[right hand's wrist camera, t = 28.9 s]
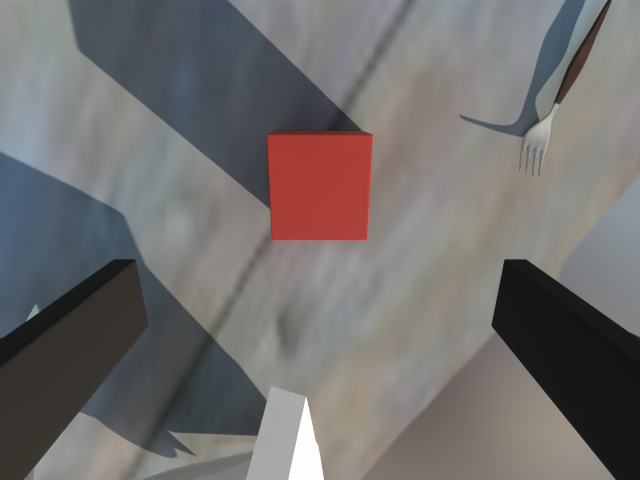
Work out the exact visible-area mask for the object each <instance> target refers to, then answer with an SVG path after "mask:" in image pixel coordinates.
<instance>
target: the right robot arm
mask: <svg viewBox="0 0 640 480" xmlns="http://www.w3.org/2000/svg"><path fill="white" fill-rule="evenodd" d="M148 326H149V325H148V320H147V315H146V310H145V305H144V300H143V295H142V290H141V285H140V280H139V275H138V270H137V265H136V260H135V259H114V260H112V261H111V262H110V263H108V264H107V265H105V266H104V267H103V268H101V269H100V270H98V271H97V272H95V273H94V274H93V275H91V276H90V277H88V278H87V279H86V280H84V281H83V282H81V283H80V284H79V285H77V286H76V287H74V288H73V289H71V290H70V291H69V292H67V293H66V294H64V295H63V296H62V297H60V298H59V299H57V300H56V301H54V302H53V303H52V304H50V305H49V306H47V307H46V308H45V309H43V310H42V311H40V312H39V313H38V314H36V315H35V316H33V317H32V318H30V319H29V320H28V321H26V322H25V323H23V324H22V325H21V326H19V327H18V328H16V329H15V330H13V331H12V332H11V333H9V334H8V335H6V336H5V337H3V338H1V339H0V480H24V479H25V478H26V477H27V476H28V474H29V473H30V472H31V471H32V469H33V468H34V467H35V466H36V464H37V463H38V462H39V461H40V459H41V458H42V457H43V456H44V454H45V453H46V452H47V451H48V450H49V448H50V447H51V446H52V445H53V443H54V442H55V441H56V440H57V438H58V437H59V436H60V435H61V433H62V432H63V431H64V430H65V429H66V427H67V426H68V425H69V424H70V422H71V421H72V420H73V419H74V417H75V416H76V415H77V414H78V412H79V411H80V410H81V409H82V407H83V406H84V405H85V404H86V403H87V401H88V400H89V399H90V398H91V396H92V395H93V394H94V393H95V391H96V390H97V389H98V388H99V386H100V385H101V384H102V383H103V382H104V380H105V379H106V378H107V377H108V375H109V374H110V373H111V372H112V370H113V369H114V368H115V367H116V365H117V364H118V363H119V362H120V360H121V359H122V358H123V357H124V356H125V354H126V353H127V352H128V351H129V349H130V348H131V347H132V346H133V344H134V343H135V342H136V341H137V339H138V338H139V337H140V336H141V334H142V333H143V332H144V331H145V330H146V328H147V327H148ZM491 326H492V327H493V328H494V330H495V331H496V332H497V333H498V334H499V336H500V337H501V338H502V339H503V341H504V342H505V343H506V344H507V346H508V347H509V348H510V349H511V351H512V352H513V353H514V354H515V356H516V357H517V358H518V359H519V360H520V362H521V363H522V364H523V365H524V367H525V368H526V369H527V370H528V372H529V373H530V374H531V375H532V377H533V378H534V379H535V380H536V381H537V383H538V384H539V385H540V386H541V388H542V389H543V390H544V391H545V393H546V394H547V395H548V396H549V398H550V399H551V400H552V401H553V403H554V404H555V405H556V406H557V407H558V409H559V410H560V411H561V412H562V414H563V415H564V416H565V417H566V419H567V420H568V421H569V422H570V424H571V425H572V426H573V427H574V429H575V430H576V431H577V432H578V433H579V435H580V436H581V437H582V438H583V440H584V441H585V442H586V443H587V445H588V446H589V447H590V448H591V450H592V451H593V452H594V453H595V454H596V456H597V457H598V458H599V459H600V461H601V462H602V463H603V464H604V466H605V467H606V468H607V469H608V471H609V472H610V473H611V474H612V476H613V477H614V478H615V479H616V480H640V337H638V336H636V335H634V334H632V333H630V332H628V331H627V330H625V329H624V328H622V327H621V326H619V325H618V324H617V323H615V322H614V321H612V320H611V319H610V318H608V317H607V316H605V315H604V314H602V313H601V312H600V311H598V310H597V309H595V308H594V307H593V306H591V305H590V304H588V303H587V302H586V301H584V300H583V299H581V298H580V297H578V296H577V295H576V294H574V293H573V292H571V291H570V290H569V289H567V288H566V287H564V286H563V285H561V284H560V283H559V282H557V281H556V280H554V279H553V278H552V277H550V276H549V275H547V274H546V273H545V272H543V271H542V270H540V269H539V268H537V267H536V266H535V265H533V264H532V263H530V262H529V261H528V260H526V259H505V260H504V265H503V270H502V275H501V280H500V285H499V290H498V295H497V300H496V305H495V310H494V315H493V320H492V325H491Z"/></svg>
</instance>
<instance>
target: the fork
mask: <svg viewBox="0 0 640 480" xmlns="http://www.w3.org/2000/svg"><path fill="white" fill-rule="evenodd" d="M611 1H612V0H608V1H607V2H606V4H605V6H604V7H603V9H602V11H601V12H600V14H599V16H598V17H597V19H596V21H595V22H594V24H593V26H592V28H591V29H590V31H589V33H588V34H587V36H586V38H585V39H584V41H583V42H582V44H581V46H580V47H579V49H578V50H577V52H576V54H575V55H574V57H573V59H572V61H571V62H570V64H569V67H568V69H567V71H566V73H565V76H564V78H563V81H562V83H561V86H560V88H559V91H558V94H557V96H556V99H555V101H554V104H553V106H552V108H551V110H550V112H549V114H548V115H547V116H546V117H545V118H544V119H542V120H541V121H540V122H538V123H537V124H535V125H534V126H532V127H531V128H530V129H529V130H528V131H527V132H526V134H525V135H524V138H523V141H522V147H521V154H520V165H519V172H520V171H521V165H522V160H523V155H524V151H525V148H526V147H527V149H528V151H527V160H526V174H527V170H528V164H529V159H530V154H531V151H532V149H533V150H534V156H533V166H532V176H533V175H534V169H535V163H536V158H537V154H538V152H540V161H539V173H538V178H540V173H541V167H542V162H543V157H544V153H545V150H546V147H547V144H548V141H549V136H550V128H551V121H552V117H553V115H554V113H555V111H556V109H557V108H558V106H559V104H560V103H561V101H562V100H563V98H564V97H565V95H566V94H567V92H568V91H569V89H570V88H571V86H572V84H573V83H574V81H575V80H576V78H577V77H578V75H579V73H580V72H581V70H582V68H583V66H584V64H585V62H586V60H587V57H588V55H589V53H590V50H591V48H592V46H593V43H594V41H595V38H596V36H597V34H598V31H599V29H600V27H601V25H602V22H603V20H604V18H605V16H606V13H607V11H608V9H609V6H610V4H611Z"/></svg>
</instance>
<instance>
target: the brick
mask: <svg viewBox="0 0 640 480" xmlns="http://www.w3.org/2000/svg"><path fill="white" fill-rule="evenodd" d="M372 143H373V135H372V134H369V133H367V132H364V131H275V132H272V133H270V134H267V148H268V169H269V190H270V211H271V232H272V240H367V239H368V220H369V201H370V182H371V163H372Z"/></svg>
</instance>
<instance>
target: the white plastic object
mask: <svg viewBox="0 0 640 480" xmlns="http://www.w3.org/2000/svg"><path fill="white" fill-rule="evenodd" d="M39 312H40V309H39V308H38V306H37V305H36V304H35V306H34V308H33V310H32V311H31V313H30V315H29V317H28V318H27V320H26V321H28V320H29V319H30V318H32V317H33V316H35V315H36V314H38V313H39ZM34 468H35V467H34ZM34 468H33V469H32V471H31V472H30V473H29V474H28V476H27V477H26V478H25V479H24V480H33V477H34ZM141 480H324V479H323V472H322V466H321V460H320V453H319V447H318V444H317V443H316V442H315V437H314V432H313V427H312V422H311V418H310V413H309V408H308V403H307V398H306V397H305V396H302V395H299V394H296V393H293V392H289V391H286V390H283V389H280V388H277V387H274V386H271V389H270V392H269V396H268V400H267V404H266V407H265V411H264V415H263V418H262V422H261V426H260V430H259V433H258V437H257V441H256V444H255V448H254V451H250V452H245V453H240V454H236V455H231V456H226V457H221V458H216V459H211V460H206V461H201V462H197V463H193V464H190V465H186V466H182V467H178V468H175V469H171V470H167V471H165V472H162V473H159V474H156V475H153V476H150V477H147V478H144V479H141Z"/></svg>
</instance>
